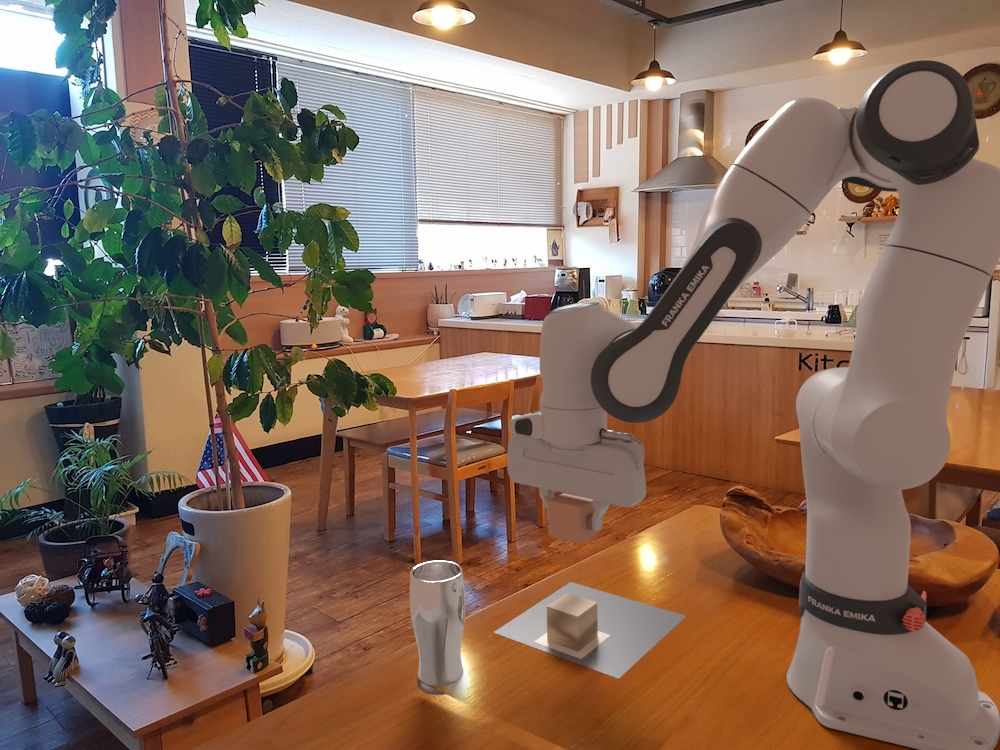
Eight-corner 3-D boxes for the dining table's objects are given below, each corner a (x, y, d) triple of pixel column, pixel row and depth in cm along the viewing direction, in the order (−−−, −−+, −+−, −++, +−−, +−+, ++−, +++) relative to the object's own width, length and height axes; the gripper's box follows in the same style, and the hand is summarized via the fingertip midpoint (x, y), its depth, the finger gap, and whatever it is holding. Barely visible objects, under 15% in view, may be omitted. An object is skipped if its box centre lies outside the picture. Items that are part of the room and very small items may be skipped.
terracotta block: (599, 532, 102) (599, 497, 101) (579, 544, 98) (579, 507, 97) (569, 525, 105) (568, 490, 104) (548, 535, 101) (548, 500, 101)
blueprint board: (686, 623, 109) (686, 615, 109) (618, 687, 93) (618, 678, 93) (570, 588, 121) (570, 581, 121) (493, 640, 106) (493, 632, 105)
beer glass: (402, 689, 94) (397, 576, 92) (432, 662, 100) (428, 556, 98) (450, 703, 91) (445, 587, 89) (478, 674, 97) (474, 565, 95)
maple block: (597, 636, 103) (597, 602, 103) (578, 651, 100) (577, 616, 99) (567, 625, 107) (566, 593, 106) (547, 640, 103) (546, 606, 102)
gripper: (655, 430, 95) (654, 534, 97) (527, 411, 108) (528, 503, 110) (631, 440, 90) (630, 549, 93) (499, 419, 103) (501, 515, 105)
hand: (574, 524), depth 101 cm, fingers closed on terracotta block, 5 cm apart
